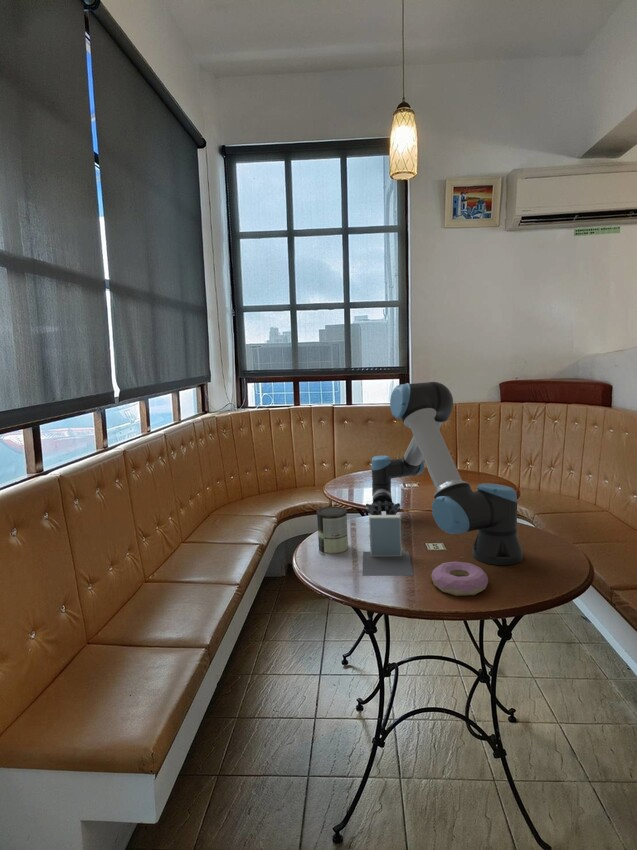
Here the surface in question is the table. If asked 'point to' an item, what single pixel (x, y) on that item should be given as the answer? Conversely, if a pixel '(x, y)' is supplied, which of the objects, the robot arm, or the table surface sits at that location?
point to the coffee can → (332, 530)
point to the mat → (387, 565)
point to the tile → (385, 535)
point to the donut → (459, 578)
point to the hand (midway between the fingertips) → (384, 520)
